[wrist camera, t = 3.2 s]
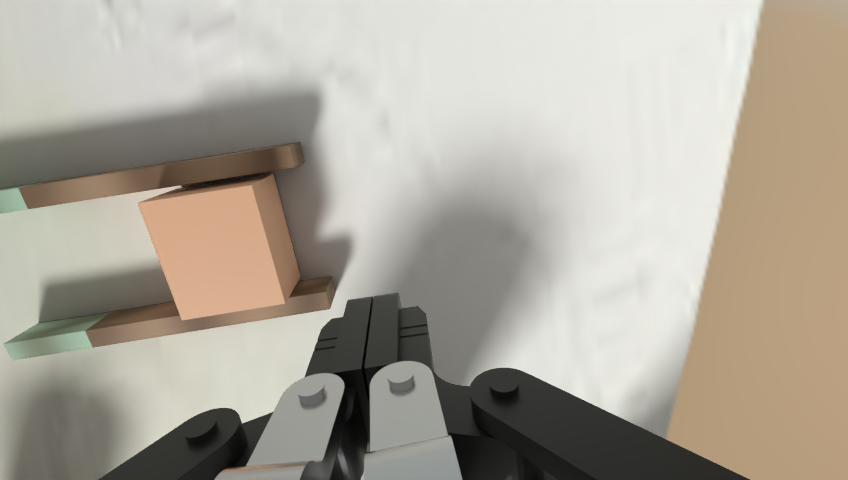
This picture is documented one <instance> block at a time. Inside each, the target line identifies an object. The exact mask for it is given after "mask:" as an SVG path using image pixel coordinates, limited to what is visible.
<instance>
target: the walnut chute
mask: <svg viewBox="0 0 848 480" xmlns="http://www.w3.org/2000/svg"><path fill="white" fill-rule="evenodd" d="M303 162H305V161H304V157H303V153H302V148H301V144H300V142H298V143H291V144H285V145H279V146H272V147H266V148H259V149H253V150H247V151H240V152H234V153H227V154H221V155H214V156H208V157H202V158H195V159H189V160H182V161H176V162H170V163H163V164H157V165H150V166H144V167H138V168H131V169H125V170H118V171H112V172H105V173H99V174H93V175H86V176H80V177H73V178H67V179H61V180H54V181H48V182H41V183H35V184H29V185H22V186H16V187H9V188H3V189H0V213H7V212H13V211H19V210H26V209H32V208H39V207H45V206H51V205H58V204H64V203H70V202H77V201H83V200H89V199H96V198H102V197H109V196H115V195H121V194H128V193H134V192H140V191H147V190H153V189H160V188H166V187H172V186H179V185H185V184H191V183H198V182H204V181H211V180H217V179H223V178H230V177H236V176H242V175H249V174H255V173H262V172H268V171H274V170H281V169H287V168H293V167H296V166H298V165H300V164H302V163H303ZM335 292H336V291H335V287H334V283H333V279H332V276H330V277H324V278H317V279H311V280H305V281H299V282H297V284H296V286H295V287H294V289H293V291H292V293H291V294H290V296H289V298H288V300H287V301H286V303H285V304H280V305H274V306H268V307H262V308H256V309H250V310H243V311H237V312H231V313H225V314H219V315H213V316H206V317H200V318H194V319H188V320H182V319H181V317H180V314H179V311H178V309H177V306H176V303H175V302H169V303H162V304H156V305H150V306H144V307H138V308H131V309H125V310H119V311H113V312H107V313H100V314H94V315H88V316H82V317H76V318H69V319H63V320H57V321H51V322H45V323H38V324H36V325H34V326H33V327H31V328H29V329H28V330H26V331H24V332H23V333H21V334H19V335H18V336H16V337H14V338H13V339H11V340H9V341H8V342H6V343H4V346H5V348H6V349H7V351H8V353H9V355H10V357H11V359H12V360H19V359H25V358H31V357H37V356H43V355H50V354H56V353H62V352H68V351H74V350H80V349H86V348H93V347H99V346H105V345H111V344H117V343H123V342H130V341H136V340H142V339H148V338H154V337H160V336H166V335H173V334H179V333H185V332H191V331H197V330H203V329H210V328H216V327H222V326H228V325H234V324H240V323H247V322H253V321H259V320H265V319H271V318H277V317H283V316H290V315H296V314H302V313H308V312H314V311H320V310H327V309H330V307H331V304H332V301H333V298H334V295H335Z"/></svg>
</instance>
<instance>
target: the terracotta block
mask: <svg viewBox="0 0 848 480" xmlns="http://www.w3.org/2000/svg"><path fill="white" fill-rule="evenodd" d="M138 206H139V208H140V211H141V214H142V216H143V219H144V222H145V224H146V227H147V229H148V232H149V235H150V237H151V240H152V243H153V245H154V248H155V251H156V253H157V256H158V259H159V261H160V264H161V266H162V269H163V272H164V274H165V277H166V280H167V282H168V285H169V288H170V290H171V293H172V296H173V298H174V301H175V303H176V306H177V309H178V311H179V314H180V317H181V319H182V320H188V319H194V318H200V317H206V316H213V315H219V314H225V313H231V312H237V311H243V310H250V309H256V308H262V307H268V306H274V305H280V304H285V303H286V301H287V300H288V298H289V296H290V294H291V293H292V291H293V289H294V287H295V286H296V284H297V282H298V280H299V279H300V277H301V276H300V272H299V268H298V265H297V261H296V257H295V253H294V250H293V246H292V242H291V238H290V234H289V231H288V227H287V223H286V219H285V215H284V212H283V208H282V204H281V200H280V197H279V193H278V189H277V185H276V181H275V178H274V174H268V175H262V176H255V177H249V178H242V179H236V180H230V181H223V182H217V183H211V184H204V185H198V186H191V187H185V188H179V189H175V190H172V191H169V192H167V193H164V194H161V195H158V196H156V197H153V198H150V199H147V200H145V201H142V202H139V203H138Z"/></svg>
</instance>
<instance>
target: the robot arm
mask: <svg viewBox="0 0 848 480" xmlns="http://www.w3.org/2000/svg"><path fill="white" fill-rule="evenodd" d="M314 350H315V351H314V352H313V355H312V357H311V360H310V363H309V366H308V369H307V372H306V375H305V378H302V379H300V380H298V381H297V382H295V383H294V384H292V385H291V386H290V387H289V388H288V389H287V390H286V391H285V392H284V393H283V395H282V396H281V398H280V400H279V402H278V404H277V406H276V408H275V410H274V412H272V413H269V414H267V415H264V416H262V417H259V418H256V419H254V420H251V421H248V422H245V423H243V424H242V422H241V419H240V417H239V414H238V413H237V412H236V411H235V410H232V409H229V408H218V409H213V410H209V411H206V412H203V413H201V414H198V415H196V416H194V417H192V418H191V419H189V420H187V421H186V422H184V423H183V424H181V425H180V426H178V427H177V428H175V429H174V430H172V431H171V432H169V433H168V434H166V435H165V436H163V437H162V438H160V439H159V440H157V441H156V442H154V443H153V444H151V445H150V446H148V447H147V448H145V449H144V450H142V451H141V452H139V453H138V454H136V455H135V456H133V457H132V458H130V459H129V460H127V461H126V462H124V463H123V464H121V465H120V466H118V467H117V468H115V469H114V470H112V471H111V472H109V473H108V474H106V475H105V476H103V477H102V478H100V479H99V480H749V479H747V478H745V477H743V476H741V475H739V474H737V473H735V472H733V471H731V470H729V469H726V468H724V467H722V466H720V465H718V464H716V463H713V462H712V461H710V460H708V459H705V458H703V457H701V456H699V455H697V454H695V453H693V452H691V451H689V450H687V449H684V448H682V447H680V446H678V445H676V444H674V443H672V442H670V441H668V440H666V439H664V438H662V437H659V436H657V435H655V434H653V433H651V432H649V431H647V430H645V429H643V428H641V427H638V426H636V425H634V424H632V423H630V422H628V421H626V420H624V419H622V418H620V417H618V416H615V415H613V414H611V413H609V412H607V411H605V410H603V409H601V408H599V407H597V406H594V405H592V404H590V403H588V402H586V401H584V400H582V399H580V398H578V397H576V396H574V395H571V394H569V393H567V392H565V391H563V390H561V389H559V388H557V387H555V386H553V385H550V384H548V383H546V382H544V381H542V380H540V379H538V378H536V377H534V376H532V375H529V374H527V373H525V372H523V371H520V370H517V369H512V368H496V369H491V370H488V371H485V372H483V373H481V374H480V375H478V376H477V377H476V378H475V379H474V380H473V382H472V383H471V385H470V386H460V385H454V384H450V383H448V382H445V381H444V380H442V379H440V378H439V377H438V376H437V375H436V374H435V372H434V368H433V360H432V353H431V346H430V339H429V332H428V326H427V319H426V314H425V313H424V312H423V311H422V310H421V309H420V308H419V307H418V306H416V307H409V308H403V309H401V303H400V297H399V293H393V294H386V295H379V296H374V298H373V297H366V298H359V299H352V300H348V301H347V305H346V308H345V312H344V316H343V317H341V318H334V319H331V320H330V321H329V322H328V323H327V324H326V325H325V326H324V327H323V328H322V329H321V332H320V335H319V337H318V342H317V343H316V346H315V349H314Z"/></svg>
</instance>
